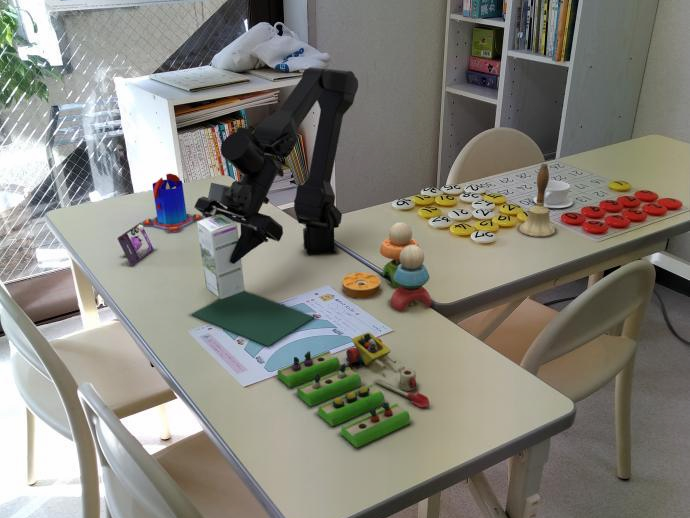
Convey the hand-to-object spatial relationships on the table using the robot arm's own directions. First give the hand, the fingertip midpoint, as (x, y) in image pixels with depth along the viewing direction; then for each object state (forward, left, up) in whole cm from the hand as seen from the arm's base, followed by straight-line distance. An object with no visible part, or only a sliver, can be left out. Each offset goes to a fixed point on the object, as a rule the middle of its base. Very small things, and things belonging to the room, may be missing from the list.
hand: (219, 258), depth 141 cm
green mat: (-5, +4, -11) cm, 13 cm away
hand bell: (-73, -29, -11) cm, 79 cm away
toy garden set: (-23, +31, -11) cm, 41 cm away
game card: (+21, -28, -11) cm, 36 cm away
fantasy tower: (+14, -48, -11) cm, 51 cm away
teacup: (-83, -46, -11) cm, 95 cm away
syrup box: (0, -1, -7) cm, 7 cm away
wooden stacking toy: (-33, -2, -11) cm, 35 cm away
